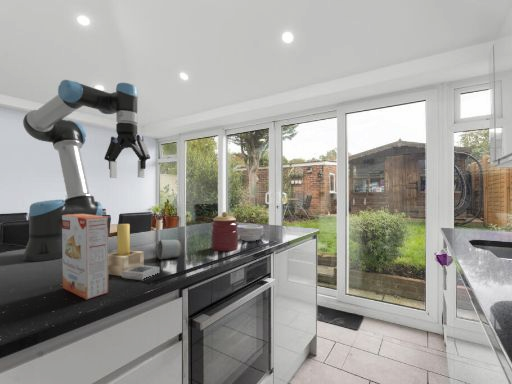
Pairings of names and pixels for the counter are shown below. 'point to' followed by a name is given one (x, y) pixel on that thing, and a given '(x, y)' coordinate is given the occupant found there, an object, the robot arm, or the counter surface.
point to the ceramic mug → (169, 249)
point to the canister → (224, 233)
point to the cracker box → (85, 254)
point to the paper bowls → (250, 232)
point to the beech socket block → (124, 262)
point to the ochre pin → (123, 239)
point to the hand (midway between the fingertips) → (126, 177)
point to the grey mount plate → (140, 272)
